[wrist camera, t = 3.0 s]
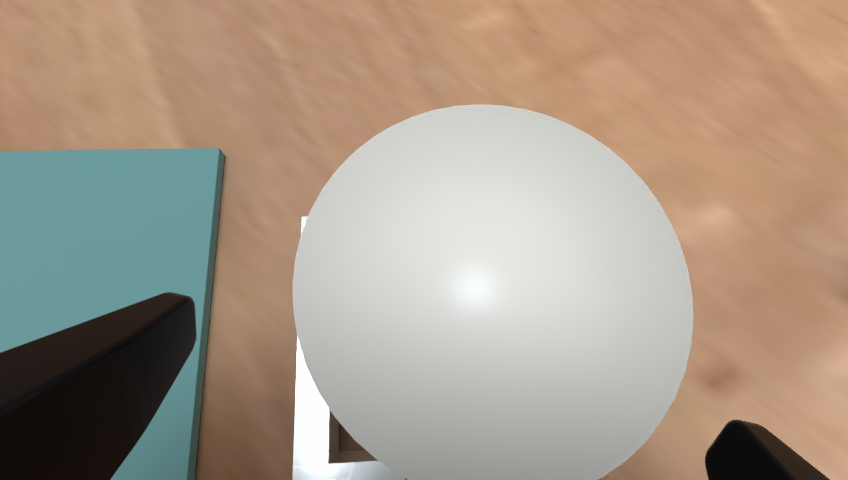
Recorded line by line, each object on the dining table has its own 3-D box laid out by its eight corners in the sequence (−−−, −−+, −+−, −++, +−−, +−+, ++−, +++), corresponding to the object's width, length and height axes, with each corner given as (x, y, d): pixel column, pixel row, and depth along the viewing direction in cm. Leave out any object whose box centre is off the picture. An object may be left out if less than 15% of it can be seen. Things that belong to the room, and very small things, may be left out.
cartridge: (504, 416, 16) (738, 487, 5) (362, 424, 16) (283, 520, 5) (491, 278, 17) (649, 103, 7) (361, 283, 17) (299, 105, 6)
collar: (561, 469, 16) (591, 484, 13) (308, 486, 15) (291, 505, 13) (531, 233, 18) (551, 210, 16) (314, 239, 18) (301, 216, 15)
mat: (194, 483, 15) (185, 487, 14) (-137, 504, 14) (-159, 510, 14) (224, 155, 18) (219, 148, 18) (-38, 159, 18) (-52, 152, 17)
